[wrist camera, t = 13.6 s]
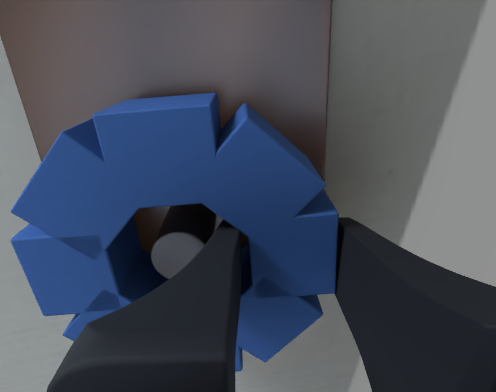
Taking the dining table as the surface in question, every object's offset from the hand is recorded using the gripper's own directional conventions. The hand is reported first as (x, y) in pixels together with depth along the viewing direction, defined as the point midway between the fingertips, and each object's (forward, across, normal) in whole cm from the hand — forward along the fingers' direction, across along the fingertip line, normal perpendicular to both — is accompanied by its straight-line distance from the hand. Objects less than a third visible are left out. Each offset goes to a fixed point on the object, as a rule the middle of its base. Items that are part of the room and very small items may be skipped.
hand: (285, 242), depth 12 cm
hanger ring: (+1, +4, 0) cm, 4 cm away
